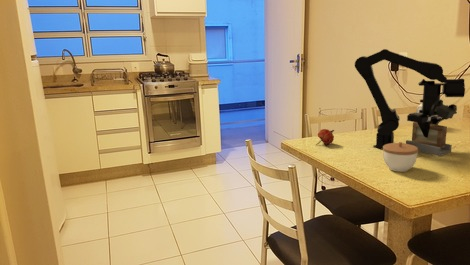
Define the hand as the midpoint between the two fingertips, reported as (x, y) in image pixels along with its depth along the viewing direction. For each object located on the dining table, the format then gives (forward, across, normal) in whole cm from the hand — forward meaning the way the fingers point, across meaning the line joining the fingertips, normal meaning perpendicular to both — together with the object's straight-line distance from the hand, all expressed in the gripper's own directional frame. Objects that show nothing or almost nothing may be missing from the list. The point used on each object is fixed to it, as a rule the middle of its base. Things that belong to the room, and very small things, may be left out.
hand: (428, 136), depth 135 cm
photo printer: (+6, +30, +24) cm, 39 cm away
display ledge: (+5, 0, 0) cm, 5 cm away
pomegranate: (+6, -26, +30) cm, 40 cm away
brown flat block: (+3, 0, 0) cm, 3 cm away
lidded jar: (+6, -26, -8) cm, 28 cm away
